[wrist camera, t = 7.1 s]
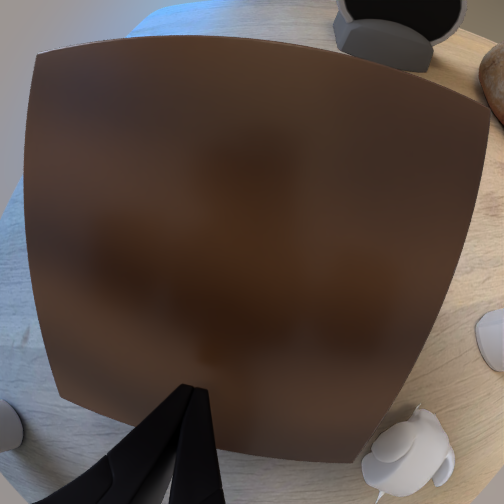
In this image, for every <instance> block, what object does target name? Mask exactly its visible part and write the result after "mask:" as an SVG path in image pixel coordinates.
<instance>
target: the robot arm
mask: <svg viewBox="0 0 504 504" xmlns="http://www.w3.org/2000/svg"><path fill="white" fill-rule="evenodd" d="M172 476H173V477H172ZM171 478H172V484H171V490H170V497H169V504H226V503H225V498H224V492H223V489H222V481H221V475H220V469H219V463H218V456H217V450H216V443H215V436H214V429H213V422H212V414H211V407H210V399H209V391H208V390H207V389H204V388H200V387H195V388H194V386H192V385H187V384H180V385H179V386H178V387H177V388H176V389H175V390H174V391H173V392H172V393H171V394H170V395H169V396H168V397H167V398H166V399H165V400H164V401H163V402H161V403H160V404H159V405H158V406H157V407H156V408H155V409H154V410H153V411H152V412H151V413H150V414H149V415H148V416H147V417H146V418H145V419H144V420H143V421H142V422H140V423H139V424H138V425H137V426H136V427H135V428H134V429H133V430H132V431H131V432H130V433H129V434H128V435H127V436H126V437H124V438H123V439H122V440H121V441H120V442H119V443H118V444H117V445H116V446H115V447H114V448H112V449H111V450H110V451H109V452H108V453H107V455H105V456H104V457H102V458H101V459H100V460H99V461H98V462H97V463H96V464H94V465H93V466H92V467H91V468H90V469H88V470H87V471H86V472H85V473H83V474H82V475H80V476H79V477H77V478H76V479H75V480H73V481H72V482H70V483H68V484H67V485H65V486H64V487H62V488H61V489H59V490H57V491H56V492H54V493H52V494H51V495H49V496H48V497H46V498H44V499H42V500H40V501H38V502H35V503H32V504H161V503H162V500H163V498H164V495H165V493H166V490H167V488H168V485H169V483H170V481H171Z"/></svg>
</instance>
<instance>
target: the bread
mask: <svg viewBox="0 0 504 504" xmlns="http://www.w3.org/2000/svg"><path fill="white" fill-rule="evenodd" d="M479 80H480V83H481V86H482V88H483V91H484V94H485V96H486V99H487V101H488V104H489V106H490V108H491V109H492V111H493V113H494V114H495V116H496V117H497V118H498V119H499V121H500V122H501V123H502V124H503V125H504V41H503V42H501V43H500V44H498V45H496V46H494V47H493V48H492V49H491V50H490V51H489V52H488V53H487V54H486V55H485V56H484V57H483V59H482V61H481V64H480V68H479Z"/></svg>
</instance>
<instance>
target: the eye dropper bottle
mask: <svg viewBox="0 0 504 504" xmlns="http://www.w3.org/2000/svg"><path fill="white" fill-rule="evenodd" d="M476 338H477V342H478V346H479V349H480V352H481V354H482V356H483V358H484V360H485V361H486V363H487V364H488V365H489V366H490V367H491V368H492V369H493V370H495V371H504V308H502V309H498V310H494V311H490V312H488V313H486V314H485V315H484V316H483V317H482V318H481V319H480V321H479V322H478V323H477V325H476Z"/></svg>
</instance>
